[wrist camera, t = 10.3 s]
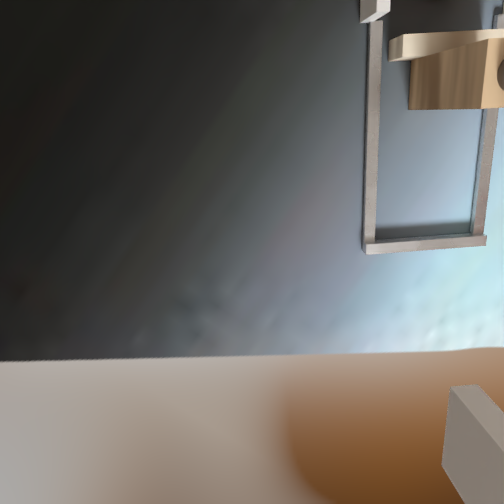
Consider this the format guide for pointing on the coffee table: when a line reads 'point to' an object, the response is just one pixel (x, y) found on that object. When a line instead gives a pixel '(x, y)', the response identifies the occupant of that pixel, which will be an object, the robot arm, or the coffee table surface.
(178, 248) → the coffee table surface
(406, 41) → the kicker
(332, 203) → the coffee table surface
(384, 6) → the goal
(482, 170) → the rails
